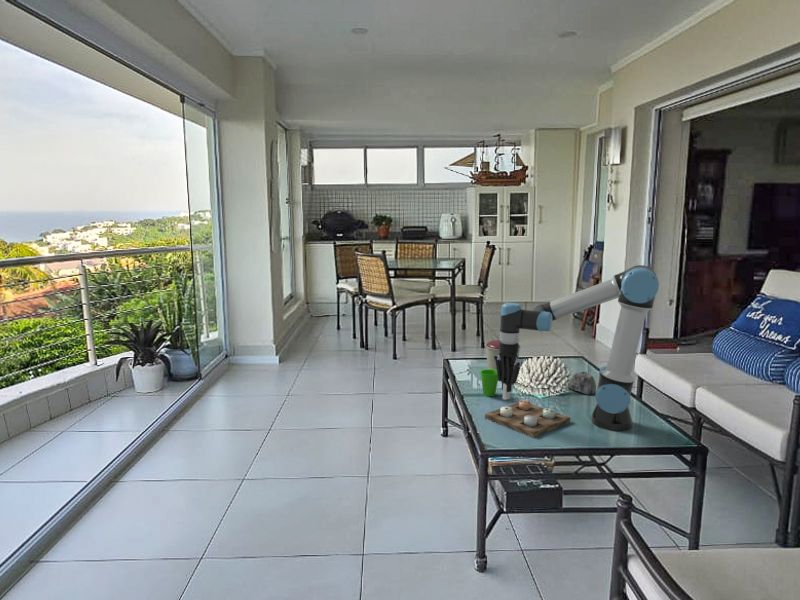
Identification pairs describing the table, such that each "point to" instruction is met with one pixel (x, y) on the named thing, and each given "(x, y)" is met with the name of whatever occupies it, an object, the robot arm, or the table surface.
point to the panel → (518, 420)
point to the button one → (506, 412)
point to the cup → (489, 381)
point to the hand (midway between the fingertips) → (506, 398)
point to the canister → (494, 353)
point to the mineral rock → (582, 383)
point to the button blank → (530, 421)
